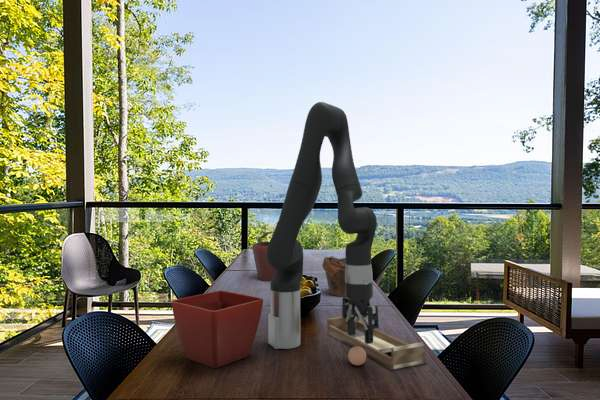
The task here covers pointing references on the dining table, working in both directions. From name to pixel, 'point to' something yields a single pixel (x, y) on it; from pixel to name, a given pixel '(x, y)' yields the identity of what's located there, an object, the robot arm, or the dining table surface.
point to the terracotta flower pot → (335, 275)
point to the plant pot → (217, 326)
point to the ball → (357, 355)
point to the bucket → (263, 259)
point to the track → (378, 345)
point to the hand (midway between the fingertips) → (360, 339)
